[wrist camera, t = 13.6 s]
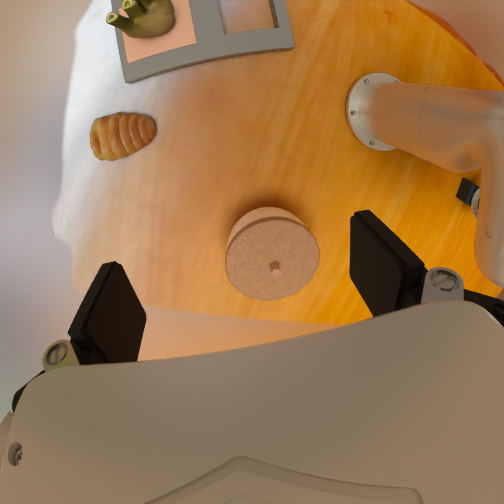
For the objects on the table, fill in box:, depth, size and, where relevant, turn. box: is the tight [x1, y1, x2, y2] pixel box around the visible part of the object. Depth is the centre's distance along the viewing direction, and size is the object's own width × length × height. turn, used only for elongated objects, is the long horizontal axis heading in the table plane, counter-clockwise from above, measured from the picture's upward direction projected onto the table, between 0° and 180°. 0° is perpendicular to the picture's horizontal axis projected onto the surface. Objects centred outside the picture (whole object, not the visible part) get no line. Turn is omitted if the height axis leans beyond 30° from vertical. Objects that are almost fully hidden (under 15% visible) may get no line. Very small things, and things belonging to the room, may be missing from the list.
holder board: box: [111, 0, 295, 83], centre depth 26 cm, size 22×14×3 cm, turn 100°
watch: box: [456, 178, 481, 219], centre depth 39 cm, size 6×8×11 cm
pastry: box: [90, 112, 156, 161], centre depth 33 cm, size 9×7×4 cm
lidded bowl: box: [225, 207, 320, 300], centre depth 40 cm, size 13×13×11 cm
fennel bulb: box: [106, 0, 175, 38], centre depth 19 cm, size 6×5×12 cm
